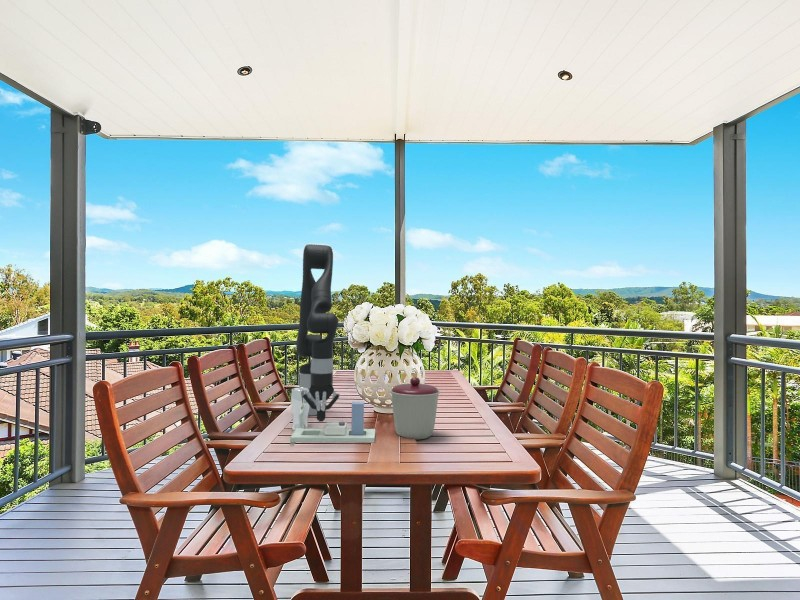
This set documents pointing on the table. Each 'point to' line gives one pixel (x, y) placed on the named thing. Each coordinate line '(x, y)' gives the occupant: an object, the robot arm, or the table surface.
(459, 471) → the table surface
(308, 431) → the board
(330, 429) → the lid
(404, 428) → the canister
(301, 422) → the beer glass
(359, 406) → the peg
